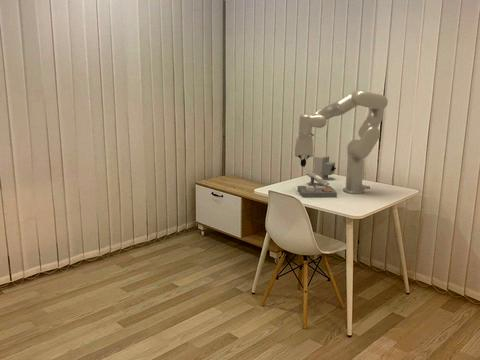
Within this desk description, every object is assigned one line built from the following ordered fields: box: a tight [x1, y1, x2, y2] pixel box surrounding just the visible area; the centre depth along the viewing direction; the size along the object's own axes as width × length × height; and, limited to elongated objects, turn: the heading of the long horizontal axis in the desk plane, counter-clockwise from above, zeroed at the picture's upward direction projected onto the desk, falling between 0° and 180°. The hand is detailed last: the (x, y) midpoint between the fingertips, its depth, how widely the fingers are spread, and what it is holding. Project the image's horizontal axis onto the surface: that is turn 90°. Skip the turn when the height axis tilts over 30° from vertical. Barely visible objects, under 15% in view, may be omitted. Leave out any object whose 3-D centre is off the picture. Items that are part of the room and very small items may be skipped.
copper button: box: [322, 188, 331, 192], centre depth 277 cm, size 4×4×3 cm
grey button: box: [305, 185, 315, 192], centre depth 276 cm, size 4×4×3 cm
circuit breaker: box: [312, 154, 337, 180], centre depth 319 cm, size 8×14×15 cm, turn 57°
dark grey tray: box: [297, 185, 338, 199], centre depth 281 cm, size 20×16×3 cm
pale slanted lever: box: [306, 170, 330, 186], centre depth 304 cm, size 8×6×14 cm
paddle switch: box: [307, 176, 317, 188], centre depth 284 cm, size 4×4×6 cm
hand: (303, 166), depth 281 cm, fingers closed
